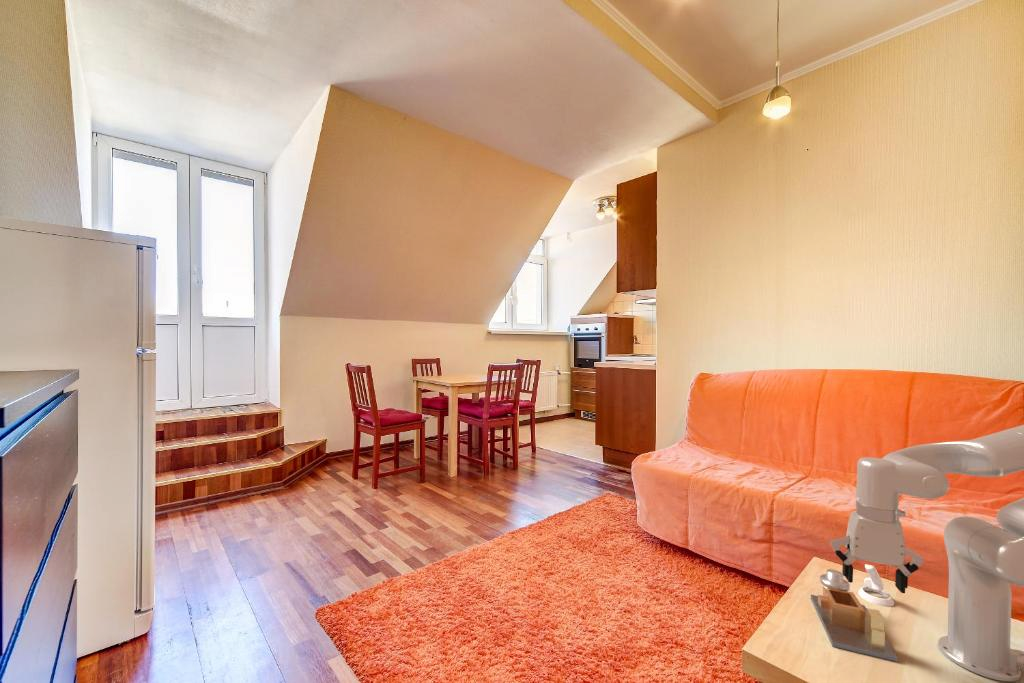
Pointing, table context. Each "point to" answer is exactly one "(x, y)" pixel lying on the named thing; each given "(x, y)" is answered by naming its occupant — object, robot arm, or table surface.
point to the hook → (875, 588)
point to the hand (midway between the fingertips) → (873, 584)
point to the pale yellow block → (875, 628)
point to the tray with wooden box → (845, 617)
